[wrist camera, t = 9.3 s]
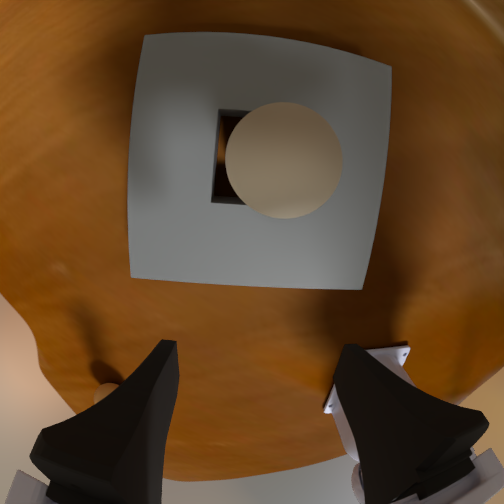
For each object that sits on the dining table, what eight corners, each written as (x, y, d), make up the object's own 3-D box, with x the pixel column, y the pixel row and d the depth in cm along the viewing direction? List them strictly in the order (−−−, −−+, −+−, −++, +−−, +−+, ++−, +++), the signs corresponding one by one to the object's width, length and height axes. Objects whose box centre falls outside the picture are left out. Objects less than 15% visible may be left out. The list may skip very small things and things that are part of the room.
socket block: (347, 273, 22) (361, 289, 19) (143, 261, 20) (131, 277, 17) (372, 75, 16) (391, 66, 13) (156, 50, 15) (144, 35, 12)
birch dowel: (284, 188, 19) (335, 222, 10) (227, 184, 19) (221, 215, 9) (289, 132, 18) (346, 112, 8) (231, 127, 17) (229, 97, 8)
